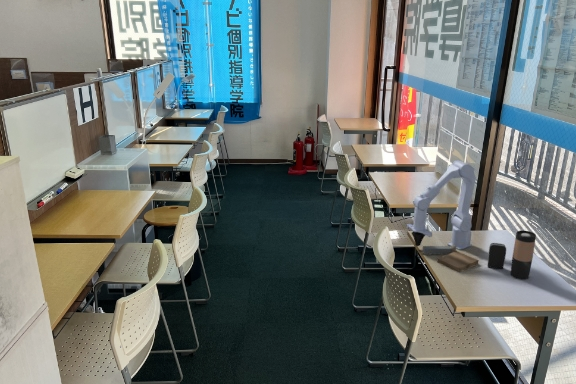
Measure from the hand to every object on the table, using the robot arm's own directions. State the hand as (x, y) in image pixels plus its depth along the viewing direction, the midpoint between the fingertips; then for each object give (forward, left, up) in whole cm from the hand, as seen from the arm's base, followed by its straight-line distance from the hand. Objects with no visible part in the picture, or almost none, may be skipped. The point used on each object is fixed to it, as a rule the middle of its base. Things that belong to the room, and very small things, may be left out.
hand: (417, 245), depth 221 cm
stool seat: (-4, +20, -2) cm, 20 cm away
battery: (-14, +33, -2) cm, 36 cm away
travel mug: (-15, +44, -2) cm, 47 cm away
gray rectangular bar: (-3, +9, -2) cm, 10 cm away
